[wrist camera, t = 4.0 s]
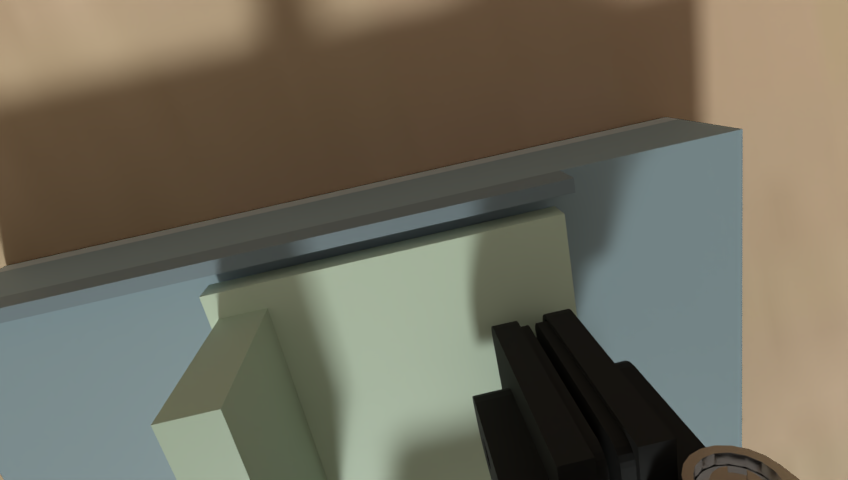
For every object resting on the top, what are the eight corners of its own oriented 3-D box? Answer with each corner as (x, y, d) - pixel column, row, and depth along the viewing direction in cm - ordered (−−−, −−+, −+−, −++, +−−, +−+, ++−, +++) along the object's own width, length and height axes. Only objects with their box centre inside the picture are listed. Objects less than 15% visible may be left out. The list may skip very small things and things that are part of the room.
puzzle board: (666, 116, 14) (769, 133, 10) (686, 546, 19) (759, 659, 15) (4, 266, 13) (-133, 338, 10) (212, 660, 19) (173, 801, 15)
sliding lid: (554, 206, 11) (645, 275, 7) (586, 455, 13) (668, 605, 9) (208, 284, 10) (121, 395, 7) (300, 522, 13) (270, 701, 9)
